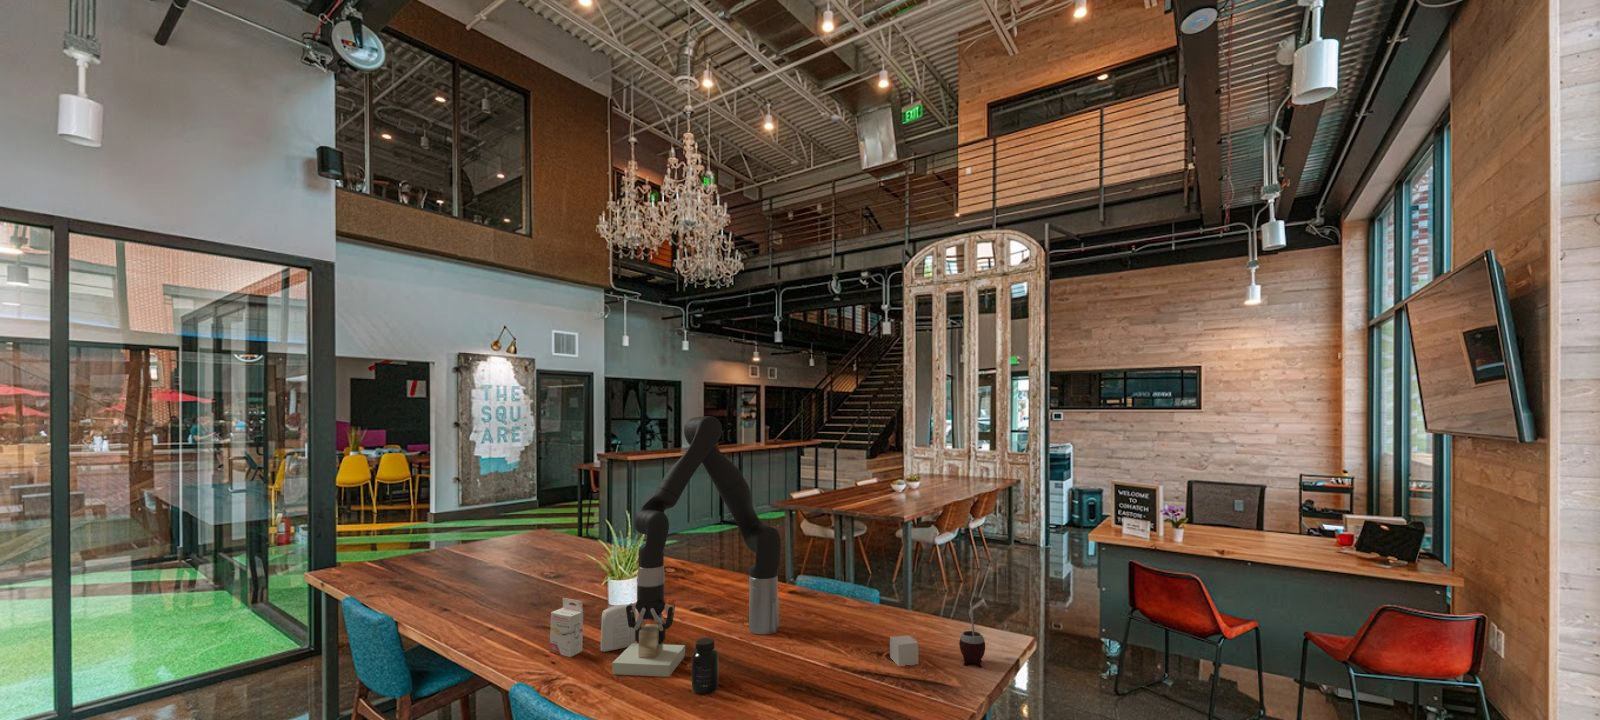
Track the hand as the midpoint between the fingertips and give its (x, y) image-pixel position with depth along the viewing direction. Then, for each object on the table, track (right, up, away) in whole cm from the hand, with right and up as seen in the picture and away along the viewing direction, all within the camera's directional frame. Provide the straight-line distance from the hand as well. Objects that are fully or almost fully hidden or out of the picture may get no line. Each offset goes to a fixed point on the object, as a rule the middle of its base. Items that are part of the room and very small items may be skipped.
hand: (650, 642), depth 174 cm
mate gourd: (+91, -6, 0) cm, 91 cm away
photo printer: (-13, -7, +12) cm, 19 cm away
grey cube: (+72, -6, +1) cm, 72 cm away
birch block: (0, -3, 0) cm, 3 cm away
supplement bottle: (+18, -5, -16) cm, 24 cm away
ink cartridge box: (-27, -7, +9) cm, 29 cm away
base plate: (0, -6, 0) cm, 6 cm away
